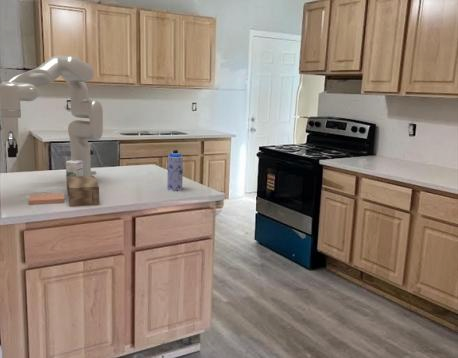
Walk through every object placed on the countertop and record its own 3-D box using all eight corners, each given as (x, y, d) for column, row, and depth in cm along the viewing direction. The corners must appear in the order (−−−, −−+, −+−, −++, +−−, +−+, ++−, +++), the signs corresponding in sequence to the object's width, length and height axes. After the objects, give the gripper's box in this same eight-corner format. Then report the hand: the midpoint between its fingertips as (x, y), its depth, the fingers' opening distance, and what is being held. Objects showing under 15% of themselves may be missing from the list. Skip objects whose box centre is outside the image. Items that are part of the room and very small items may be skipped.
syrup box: (84, 189, 216) (83, 160, 213) (76, 192, 210) (75, 162, 207) (74, 188, 218) (73, 159, 214) (66, 191, 212) (65, 161, 209)
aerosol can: (179, 191, 220) (180, 151, 216) (164, 190, 222) (165, 150, 217) (184, 188, 228) (185, 149, 223) (170, 186, 229) (170, 148, 225)
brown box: (70, 206, 188) (69, 188, 186) (67, 193, 208) (67, 176, 206) (99, 204, 193) (98, 186, 191) (94, 192, 212) (93, 175, 211)
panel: (29, 206, 188) (28, 200, 187) (30, 199, 197) (29, 194, 196) (64, 204, 193) (64, 198, 192) (63, 198, 202) (63, 192, 201)
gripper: (2, 112, 188) (4, 152, 192) (-2, 115, 173) (1, 159, 176) (21, 112, 191) (24, 151, 195) (19, 116, 176) (22, 158, 179)
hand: (13, 155), depth 186 cm, fingers open, 9 cm apart
